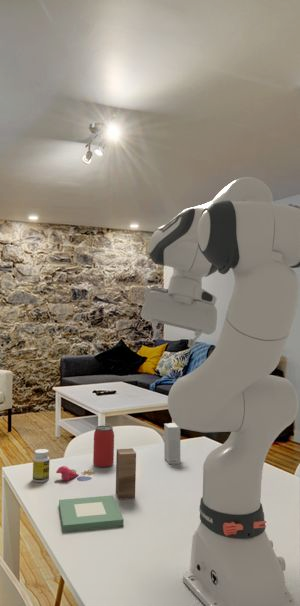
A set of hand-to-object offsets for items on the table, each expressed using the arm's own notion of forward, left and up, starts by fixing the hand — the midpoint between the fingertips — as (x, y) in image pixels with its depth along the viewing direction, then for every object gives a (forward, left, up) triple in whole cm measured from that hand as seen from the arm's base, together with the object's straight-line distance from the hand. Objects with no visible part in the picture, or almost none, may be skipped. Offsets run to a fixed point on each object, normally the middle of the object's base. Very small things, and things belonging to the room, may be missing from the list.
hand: (173, 342), depth 120 cm
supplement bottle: (+24, +32, -43) cm, 59 cm away
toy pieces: (+25, +21, -43) cm, 54 cm away
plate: (-2, +21, -42) cm, 47 cm away
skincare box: (+32, -11, -43) cm, 55 cm away
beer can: (+33, +12, -43) cm, 56 cm away
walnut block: (+8, +10, -42) cm, 44 cm away
